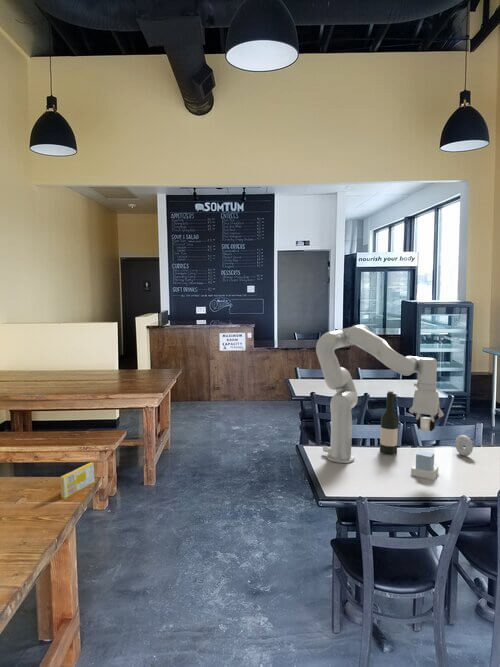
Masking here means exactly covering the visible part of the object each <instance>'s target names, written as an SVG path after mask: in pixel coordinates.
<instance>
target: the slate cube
mask: <svg viewBox="0 0 500 667" xmlns="http://www.w3.org/2000/svg"><path fill="white" fill-rule="evenodd" d="M415 464H416V468H419V469H423V470H428V471H431V469H432V468H433V467H434V466H435V453H434V452H430V451H425V450H419V451H417V452H416V454H415Z"/></svg>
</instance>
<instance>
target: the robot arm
mask: <svg viewBox="0 0 500 667" xmlns="http://www.w3.org/2000/svg"><path fill="white" fill-rule="evenodd" d="M349 346H356V347H358V348H360V349H361V350H363V351H364V352H367V353H368V354H370V355H371V356H373V357H375V359H377V360H378V361H379V362H380V363H382V364H383V366H385V367H387V368H389V369H390V370H392V371H394V372H395V373H397V374H399V375H401V376H411V375H413V374H414V373H417V382H413V387H416V389H414V394H413V400H412V405H411V407H410V408H409V409H408V412H409V413H410V414H412V415H413V417H414V418H415V420H416V427H417V430H420V418H421V417H422V415H428V416H430V418H431V422H430V431H429V432H432V431H434V429H435V428H436V421H437V420H438V419H440V418H442V417H444V415H445V414H444V412H443V410H442V408H440V407H441V406H440V398H439V391H438V389H437V377H438V376H437V374H438V373H437V371H438V361H437V359H436V358H433V357H421V356H420V357H419V356H413V355H406V356H404V355H403V354H400V353H399V352H397V351H396V350H394V349H393V348H392V347H391V346H390V344H388V342H387V341H386V340H385V338H382V337H380V336H379V335H377V334H375V333H374V332H371V330H370V328H369V327H368V326H367V325H365V324H356V325H355V324H354V325H352V326H350V327H346V328H341V329H336V330H330V331H327V332H325V333H324V334H322V335H321V336H320V337H319V339H318V340H317V343H316V347H315V352H316V357H317V359H318V362H319V365H320V369H321V372H322V374H323V378H324V381H325V385H326V386H327V387H328V388H329V389H330V390H333V391H335V392H336V393H334V395H333V396H332V397H331V399H330V403H329V404H330V406H329V407H330V415H331V416H330V420H331V421H330V446H329V447H328V446H325V445H323V447H322V451H323V452H325V453H327V454H326V458H327V460H329V461H331V462H334V463H337V464H348V463H353V462H354V461H355V456H354V455H353V454H352V435H353V434H352V433H353V430H352V429H353V418H352V409H353V408H355V406H356V405H357V404H358V400H359V398H358V393H357V389H356V386H355V383H354V381H353V377H352V376H351V373H350V372H349V370H347V368H345V367H342V366H340V365H341V364H340V363H339V359H338V356H337V355H336V352H335V351H336V350H338V349H340V348H344V347H349Z"/></svg>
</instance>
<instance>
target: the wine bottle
mask: <svg viewBox="0 0 500 667" xmlns="http://www.w3.org/2000/svg"><path fill="white" fill-rule="evenodd" d="M394 400H395V393H394V391H391V390H388V391H387V392H386V408H385V411H384V412H383V414H382V415H381V416H380V431H379V432H380V435H379V437H380V438H379V453H381V454H384V455H386V456H387V455H388V456H389V455H390V456H394V455H397V454H398V435H399V418H398V417H397V415H396V413H395V411H394V405H395V404H394V403H395V402H394Z"/></svg>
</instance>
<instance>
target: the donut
mask: <svg viewBox="0 0 500 667" xmlns="http://www.w3.org/2000/svg"><path fill="white" fill-rule="evenodd" d="M454 442H455V443H454V446H455V449H456V451H457V452H458V454H459V455H461V456H463V457H468V456H469V455H471V454H472V453H473V450H474V449H473V448H474V445H473V441H472V440H471V438H470V437H469V436H467V435H465V434H460V435H458V436H457V437H456V438H455V441H454ZM463 444H464V446H463Z"/></svg>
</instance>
